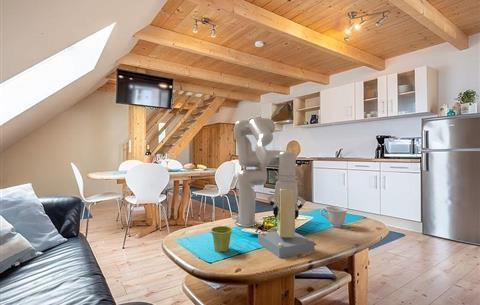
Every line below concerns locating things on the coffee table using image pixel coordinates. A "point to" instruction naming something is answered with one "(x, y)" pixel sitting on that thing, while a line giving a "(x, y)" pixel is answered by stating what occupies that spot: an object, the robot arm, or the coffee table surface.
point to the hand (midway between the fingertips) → (285, 217)
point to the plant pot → (221, 237)
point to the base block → (285, 244)
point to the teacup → (335, 215)
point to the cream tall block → (286, 214)
